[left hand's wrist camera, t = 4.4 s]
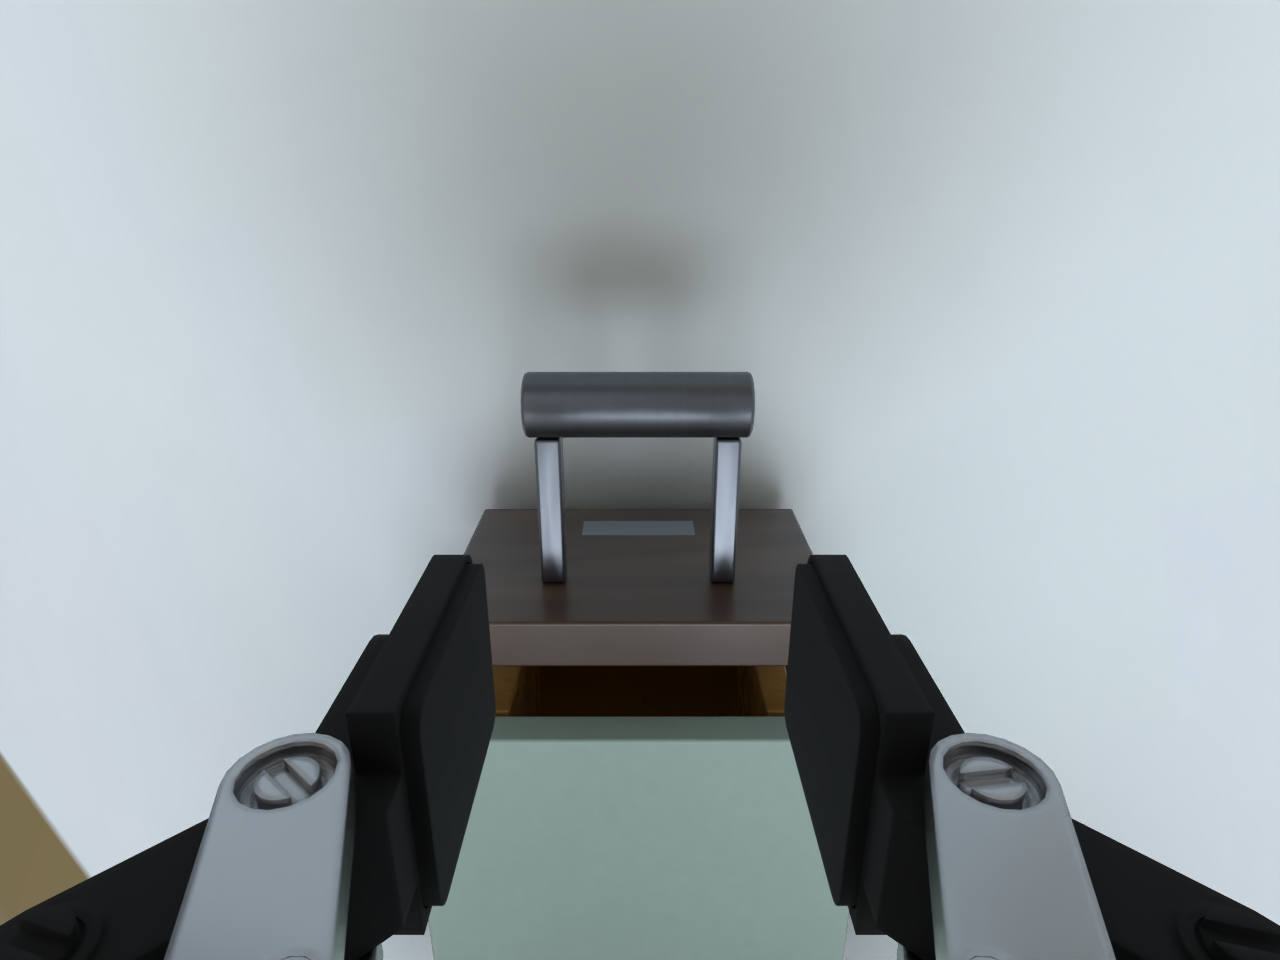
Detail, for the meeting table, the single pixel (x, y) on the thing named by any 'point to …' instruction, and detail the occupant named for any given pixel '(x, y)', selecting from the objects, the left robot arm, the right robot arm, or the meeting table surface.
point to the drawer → (639, 566)
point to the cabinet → (639, 846)
